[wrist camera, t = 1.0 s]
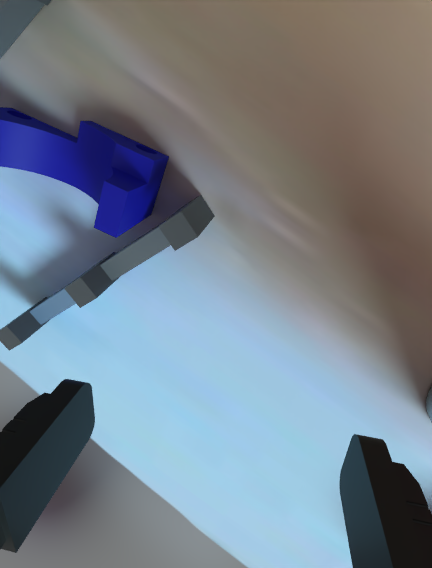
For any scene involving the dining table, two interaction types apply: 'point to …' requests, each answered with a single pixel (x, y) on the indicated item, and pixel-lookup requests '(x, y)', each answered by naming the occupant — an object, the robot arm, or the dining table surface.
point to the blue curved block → (87, 165)
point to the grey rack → (174, 231)
